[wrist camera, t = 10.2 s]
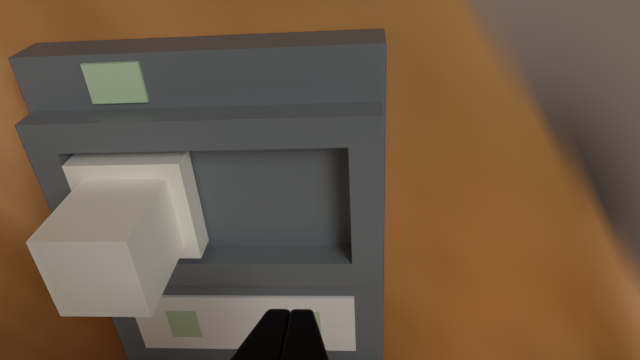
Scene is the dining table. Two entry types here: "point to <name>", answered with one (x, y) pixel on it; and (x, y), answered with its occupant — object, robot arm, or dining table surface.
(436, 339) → the dining table surface
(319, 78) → the switch bank
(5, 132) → the dining table surface
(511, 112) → the dining table surface
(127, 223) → the tab
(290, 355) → the robot arm
